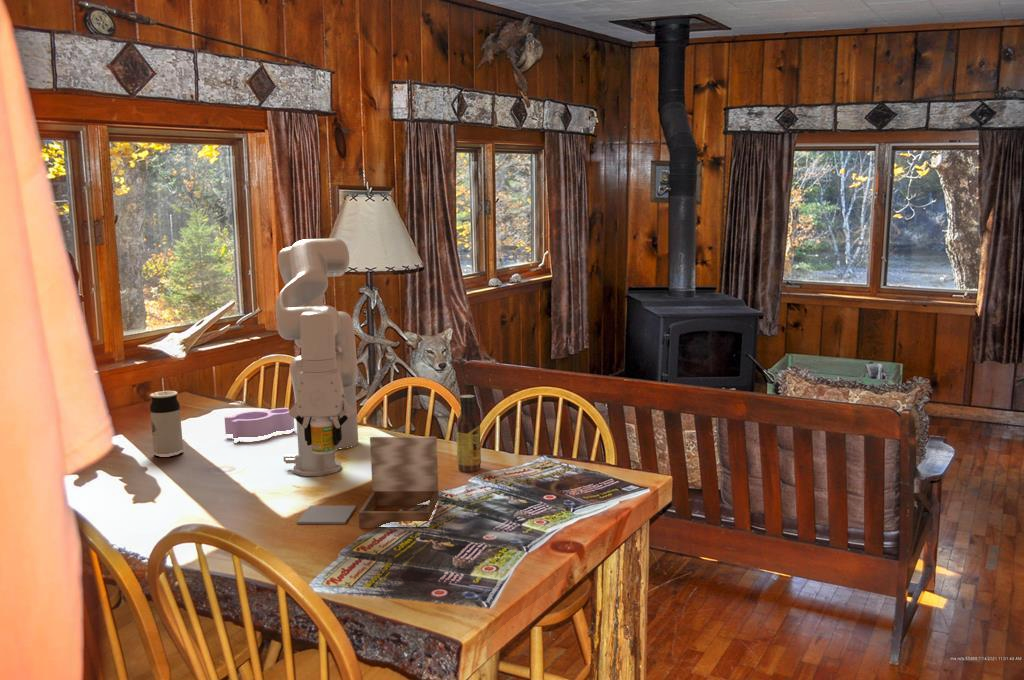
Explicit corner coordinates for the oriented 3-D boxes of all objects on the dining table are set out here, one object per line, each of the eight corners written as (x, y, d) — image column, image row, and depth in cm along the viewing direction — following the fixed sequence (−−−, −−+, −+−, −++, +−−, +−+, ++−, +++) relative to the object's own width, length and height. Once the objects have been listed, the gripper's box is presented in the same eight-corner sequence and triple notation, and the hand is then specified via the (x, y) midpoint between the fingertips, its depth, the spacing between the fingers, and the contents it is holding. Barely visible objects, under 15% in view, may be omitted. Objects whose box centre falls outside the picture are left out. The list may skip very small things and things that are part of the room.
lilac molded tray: (284, 427, 302) (283, 405, 301) (300, 434, 292) (298, 412, 291) (222, 437, 290) (221, 415, 289) (237, 445, 280) (235, 423, 279)
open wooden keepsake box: (359, 527, 208) (355, 455, 206) (373, 504, 224) (370, 437, 221) (429, 527, 207) (426, 455, 205) (439, 504, 223) (436, 436, 220)
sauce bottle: (478, 473, 246) (475, 399, 243) (454, 472, 248) (452, 398, 244) (483, 466, 253) (481, 393, 250) (461, 465, 254) (458, 393, 251)
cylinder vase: (365, 445, 276) (361, 362, 272) (325, 453, 269) (320, 367, 265) (347, 437, 286) (343, 356, 282) (308, 444, 279) (303, 361, 275)
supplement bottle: (324, 456, 211) (322, 414, 209) (306, 453, 213) (304, 411, 212) (340, 450, 215) (338, 408, 214) (323, 447, 218) (321, 406, 216)
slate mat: (296, 524, 211) (296, 522, 211) (310, 507, 222) (310, 505, 222) (345, 524, 211) (345, 521, 211) (356, 507, 222) (356, 505, 222)
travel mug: (183, 449, 277) (178, 389, 274) (183, 456, 269) (178, 394, 266) (154, 452, 274) (149, 391, 271) (153, 459, 267) (148, 397, 264)
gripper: (276, 369, 208) (281, 448, 211) (353, 368, 207) (357, 448, 210) (286, 362, 215) (291, 439, 218) (360, 362, 214) (364, 439, 217)
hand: (323, 443), depth 214 cm, fingers closed on supplement bottle, 5 cm apart
